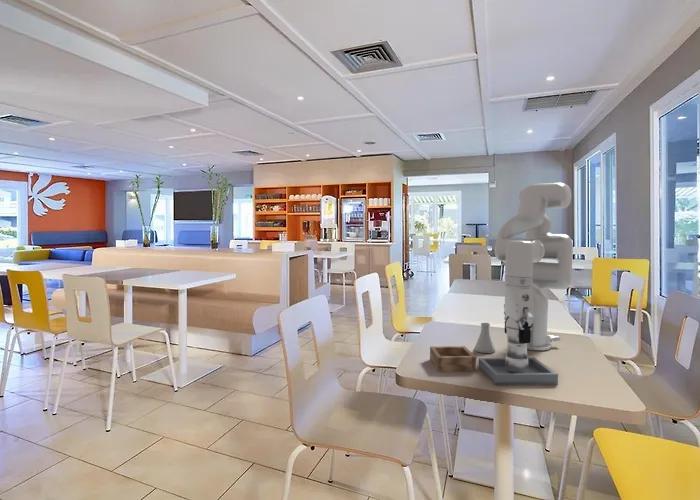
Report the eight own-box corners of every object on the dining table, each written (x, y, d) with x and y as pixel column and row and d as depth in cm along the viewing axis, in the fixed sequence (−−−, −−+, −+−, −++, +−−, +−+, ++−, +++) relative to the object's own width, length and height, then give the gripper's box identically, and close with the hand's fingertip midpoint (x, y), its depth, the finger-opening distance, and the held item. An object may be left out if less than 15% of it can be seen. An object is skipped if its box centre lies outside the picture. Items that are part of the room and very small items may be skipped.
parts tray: (533, 366, 126) (534, 357, 126) (557, 384, 112) (558, 374, 112) (478, 367, 126) (478, 358, 126) (495, 385, 112) (495, 375, 112)
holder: (464, 359, 133) (464, 346, 133) (475, 371, 122) (476, 357, 122) (429, 359, 133) (430, 346, 133) (437, 371, 122) (438, 357, 122)
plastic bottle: (526, 378, 115) (529, 310, 114) (502, 373, 118) (504, 307, 117) (529, 371, 120) (532, 306, 119) (506, 367, 124) (508, 304, 123)
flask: (495, 348, 144) (495, 321, 144) (495, 355, 137) (496, 327, 137) (474, 346, 147) (475, 320, 146) (473, 352, 140) (474, 325, 139)
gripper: (546, 286, 109) (544, 346, 110) (517, 277, 126) (516, 329, 127) (519, 286, 108) (517, 347, 110) (494, 277, 126) (493, 330, 127)
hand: (516, 337), depth 118 cm, fingers open, 9 cm apart
